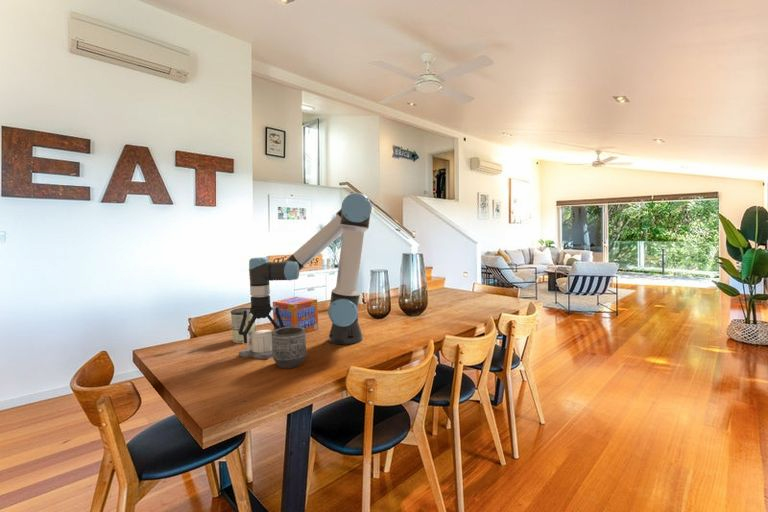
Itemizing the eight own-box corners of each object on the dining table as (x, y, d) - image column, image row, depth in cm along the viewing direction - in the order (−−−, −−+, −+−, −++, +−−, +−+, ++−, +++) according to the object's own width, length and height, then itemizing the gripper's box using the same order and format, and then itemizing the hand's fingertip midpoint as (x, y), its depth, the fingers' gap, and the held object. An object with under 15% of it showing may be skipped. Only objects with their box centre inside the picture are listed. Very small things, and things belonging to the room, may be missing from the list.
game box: (297, 325, 196) (296, 296, 195) (318, 329, 187) (317, 298, 186) (273, 332, 183) (272, 301, 182) (295, 337, 175) (293, 304, 173)
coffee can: (239, 336, 178) (237, 307, 177) (259, 336, 177) (258, 307, 176) (227, 343, 167) (226, 312, 166) (249, 343, 166) (248, 312, 165)
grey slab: (286, 349, 156) (285, 334, 155) (267, 359, 144) (266, 342, 144) (258, 346, 161) (258, 332, 160) (239, 355, 149) (238, 340, 149)
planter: (289, 372, 130) (287, 337, 129) (265, 366, 136) (264, 332, 135) (313, 361, 140) (312, 328, 139) (290, 356, 147) (289, 325, 146)
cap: (277, 347, 155) (277, 330, 154) (264, 353, 147) (263, 336, 146) (261, 345, 158) (260, 329, 157) (247, 351, 150) (246, 334, 149)
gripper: (287, 291, 159) (289, 342, 160) (229, 296, 149) (232, 350, 151) (290, 294, 152) (292, 346, 154) (230, 299, 143) (233, 355, 144)
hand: (262, 348), depth 152 cm, fingers closed on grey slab, 10 cm apart
